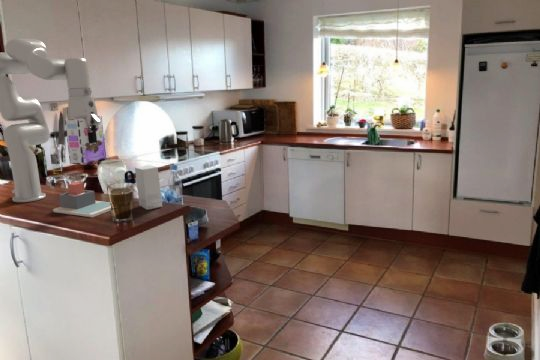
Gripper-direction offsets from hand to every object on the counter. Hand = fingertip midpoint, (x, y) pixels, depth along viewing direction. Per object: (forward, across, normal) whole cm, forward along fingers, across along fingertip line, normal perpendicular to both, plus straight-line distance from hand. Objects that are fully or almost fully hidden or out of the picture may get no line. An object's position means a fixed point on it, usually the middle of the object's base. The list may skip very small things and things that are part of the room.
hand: (86, 142), depth 169 cm
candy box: (+7, 0, 0) cm, 7 cm away
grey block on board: (+26, +4, 0) cm, 26 cm away
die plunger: (+24, +8, 0) cm, 26 cm away
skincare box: (+26, -18, -11) cm, 33 cm away
